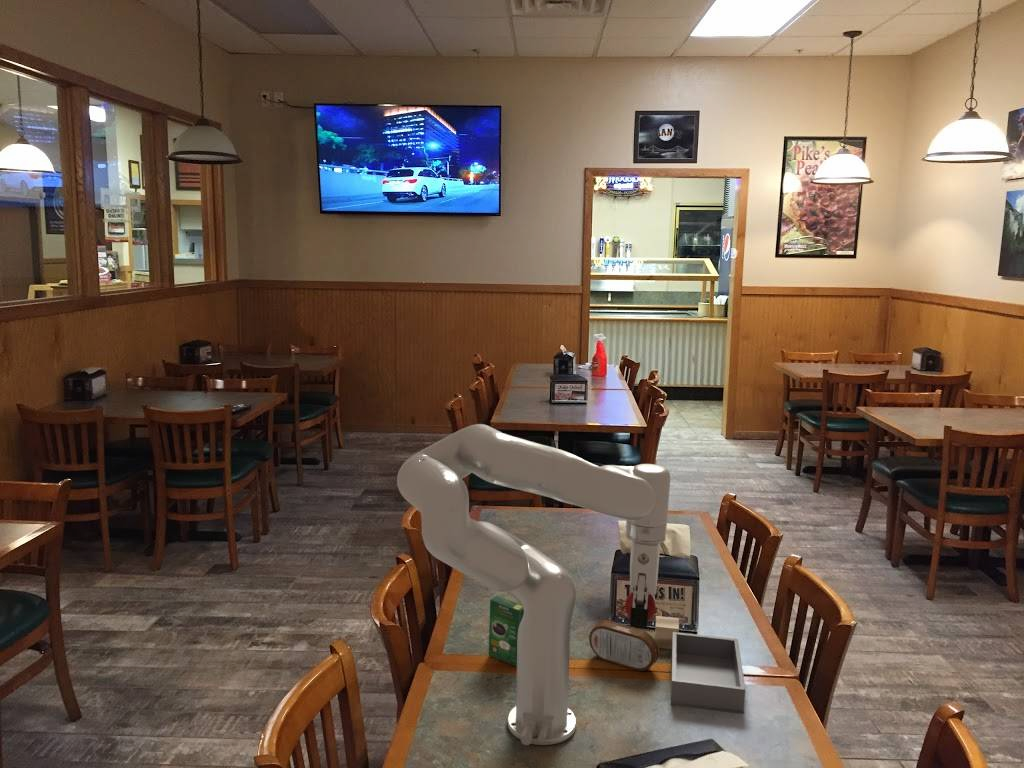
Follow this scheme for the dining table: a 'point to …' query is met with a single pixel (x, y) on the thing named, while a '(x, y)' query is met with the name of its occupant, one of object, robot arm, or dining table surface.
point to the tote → (707, 673)
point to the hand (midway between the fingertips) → (639, 618)
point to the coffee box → (504, 629)
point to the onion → (650, 604)
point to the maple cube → (665, 631)
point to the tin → (623, 645)
